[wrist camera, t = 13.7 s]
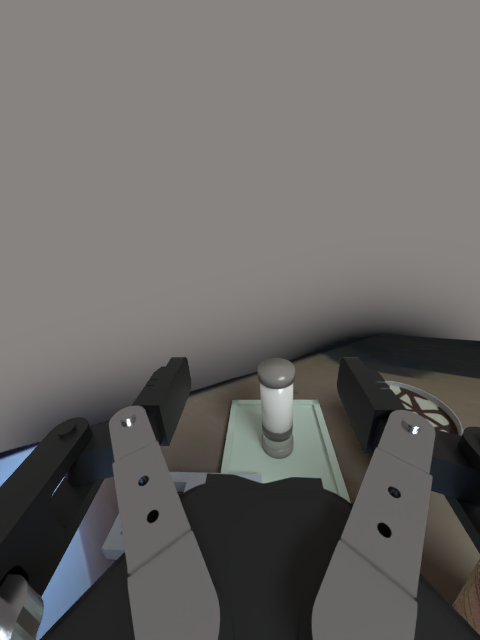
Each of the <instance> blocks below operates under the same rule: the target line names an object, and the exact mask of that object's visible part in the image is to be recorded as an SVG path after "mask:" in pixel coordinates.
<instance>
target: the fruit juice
mask: <svg viewBox="0 0 480 640" xmlns="http://www.w3.org/2000/svg"><path fill="white" fill-rule="evenodd" d="M452 607H453V608H454V609H455V610H456V611H457V612H458V613H459V614H460V615H461V616H462V617H463V618H464V619H465V620H466V621H467V622H468V623H469V624H470V625H471V626H472V628H473V629H474V630H475V631H476V632H477V633H478V634H479V635H480V559H479V561H478V563H477V564H476V566H475V568H474V569H473V571H472V573H471V574H470V576H469V578H468V580H467V581H466V583H465V585H464V586H463V588H462V590H461V591H460V593H459V595H458V596H457V598H456V600H455V602H454V603H453V605H452Z"/></svg>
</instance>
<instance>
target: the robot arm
mask: <svg viewBox="0 0 480 640" xmlns="http://www.w3.org/2000/svg"><path fill="white" fill-rule="evenodd" d="M190 390H191V378H190V372H189V366H188V361H187V358H186V357H173V358H171V359H170V361H169V363H168V364H167V366H166V367H161V368H159V369H158V370H157V371H155V372H154V373H153V375H152V376H151V378H150V380H149V381H148V382H147V384H146V386H145V387H144V388H143V390H142V391H141V393H140V394H139V396H138V397H137V399H136V400H135V402H134V403H133V405H132V406H129V407H126V408H124V409H122V410H120V411H118V412H117V413H116V414H115V415H114V416H113V417H112V418H111V420H110V421H109V422H105V423H101V424H96V425H92V426H89V424H88V421H87V420H86V419H84V418H73V419H70V420H67V421H65V422H63V423H61V424H59V425H58V426H56V427H55V428H54V429H53V430H52V431H51V432H50V433H49V434H48V435H47V436H46V437H45V438H44V439H43V440H42V441H41V443H40V444H39V445H38V446H37V447H36V448H35V449H34V450H33V451H32V453H31V454H30V455H29V456H28V457H27V458H26V459H25V460H24V461H23V463H22V464H21V465H20V466H19V467H18V468H17V469H16V470H15V471H14V472H13V474H12V475H11V476H10V477H9V478H8V479H7V480H6V481H5V482H4V484H3V485H2V486H1V487H0V640H36V633H37V630H38V628H39V625H40V623H41V620H42V616H43V608H44V605H43V600H42V598H41V596H42V595H43V593H44V591H45V589H46V587H47V585H48V583H49V581H50V580H51V578H52V576H53V574H54V572H55V570H56V568H57V566H58V565H59V563H60V561H61V559H62V557H63V555H64V553H65V551H66V550H67V548H68V546H69V544H70V542H71V540H72V538H73V536H74V535H75V533H76V531H77V529H78V527H79V525H80V523H81V521H82V520H83V518H84V516H85V514H86V512H87V510H88V508H89V506H90V505H91V503H92V501H93V499H94V497H95V495H96V493H97V491H98V490H99V488H100V486H101V484H102V482H103V480H104V479H105V478H108V477H112V476H114V480H115V487H116V494H117V501H118V507H119V514H120V521H121V528H122V534H123V541H124V548H125V552H124V553H123V554H122V555H121V556H120V557H119V558H118V559H117V560H116V561H115V562H114V563H113V564H112V565H111V566H110V567H109V568H108V569H107V570H106V571H105V572H104V573H103V575H102V576H101V577H100V578H99V579H98V580H97V581H96V582H95V583H94V584H93V585H92V586H91V587H90V588H89V589H88V590H87V591H86V592H85V593H84V594H83V595H82V596H81V597H80V598H79V599H78V600H77V601H76V602H75V603H74V604H73V606H72V607H71V608H70V609H69V610H68V611H67V612H66V613H65V614H64V615H63V616H62V617H61V618H60V619H59V620H58V621H57V622H56V623H55V624H54V625H53V626H52V627H51V628H50V629H49V630H48V631H47V632H46V633H45V635H44V636H43V637H42V638H41V639H40V640H480V635H479V634H478V633H477V632H476V631H475V630H474V629H473V628H472V626H471V625H470V624H469V623H468V622H467V621H466V620H465V619H464V618H463V617H462V616H461V615H460V614H459V613H458V612H457V611H456V610H455V609H454V608H453V607H452V606H451V605H450V604H449V603H448V602H447V601H446V600H445V599H444V598H443V597H442V595H441V594H440V593H439V592H438V591H437V590H436V589H435V588H434V587H433V586H432V585H431V584H430V583H429V582H428V581H427V580H426V579H425V578H424V577H423V576H422V575H421V574H420V567H421V559H422V552H423V545H424V537H425V530H426V522H427V515H428V508H429V500H430V493H431V491H434V492H437V493H440V494H443V495H444V496H445V497H446V499H447V501H448V502H449V504H450V506H451V507H452V509H453V510H454V512H455V514H456V515H457V517H458V519H459V520H460V522H461V524H462V525H463V527H464V529H465V530H466V532H467V534H468V535H469V537H470V538H471V540H472V542H473V543H474V545H475V547H476V548H477V550H478V552H479V553H480V427H468V428H466V429H465V430H464V431H463V434H462V436H460V435H456V434H452V433H448V432H444V431H440V430H437V429H434V427H433V426H432V424H431V423H430V422H429V421H427V420H426V419H425V418H423V417H422V416H420V415H418V414H416V413H413V412H411V411H408V410H407V409H406V408H405V406H404V405H403V404H402V402H401V401H400V400H399V398H398V397H397V396H396V395H395V393H394V392H393V391H392V389H390V387H389V385H388V384H387V383H385V380H384V379H383V378H382V376H381V375H380V374H379V373H378V372H376V371H375V370H373V369H372V368H370V367H365V366H364V365H363V363H362V362H361V360H360V359H359V358H358V357H342V358H341V360H340V366H339V373H338V380H337V390H338V394H339V396H340V398H341V401H342V403H343V405H344V407H345V410H346V412H347V414H348V416H349V418H350V421H351V423H352V425H353V427H354V430H355V432H356V434H357V436H358V438H359V441H360V443H361V445H362V447H363V450H364V452H365V453H374V454H373V456H372V459H371V461H370V464H369V466H368V469H367V472H366V474H365V477H364V479H363V482H362V485H361V487H360V490H359V492H358V495H357V497H356V500H355V503H354V505H352V504H351V503H350V502H348V501H347V500H346V499H344V498H343V497H341V496H339V495H338V494H336V493H334V492H331V491H329V490H326V489H324V488H323V484H322V479H321V478H306V477H290V478H286V479H281V480H277V481H273V482H268V483H259V482H256V481H253V480H250V479H247V478H244V477H240V476H237V475H234V474H210V473H207V476H206V481H205V483H204V484H201V485H198V486H195V487H193V488H191V489H189V490H187V491H186V492H184V493H183V494H181V495H180V496H178V493H177V490H176V488H175V485H174V482H173V480H172V477H171V474H170V472H169V469H168V467H167V464H166V461H165V459H164V456H163V453H162V451H161V448H160V446H169V444H170V442H171V439H172V437H173V434H174V432H175V429H176V427H177V424H178V422H179V419H180V416H181V414H182V411H183V409H184V406H185V404H186V401H187V399H188V396H189V394H190ZM64 476H65V478H64V479H63V477H64ZM62 479H63V481H62V482H61V480H62ZM60 482H61V484H60V485H59V483H60ZM58 485H59V487H58V488H57V486H58ZM56 488H57V490H56V491H55V492H54V490H55V489H56ZM53 492H54V494H53ZM52 494H53V495H52ZM51 496H52V497H51Z"/></svg>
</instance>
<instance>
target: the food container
mask: <svg viewBox="0 0 480 640" xmlns="http://www.w3.org/2000/svg"><path fill="white" fill-rule="evenodd" d="M385 383H387V384H388V385H389V387H390V389H392V391H393V392H394V393H395V395H396V396H397V397H398V398H399V400H400V401H401V402H402V404H403V405H404V406H405V408H406V409H407V410H408V411H411V412H413V413H416V414H418V415H420V416H422V417H423V418H425V419H426V420H427V421H429V422H430V423H431V424H432V426H433V427H434V429H437V430H440V431H444V432H448V433H452V434H456V435H460V436H462V434H463V429H462V425H461V423H460V421H459V419H458V417H457V416H456V415H455V413H454V412H453V411H452V410H451V409H450V408H449V407H448V406H447V405H445V404H444V403H443V402H442V401H440V400H439V399H437V398H436V397H434V396H432V395H431V394H429V393H427V392H425V391H423V390H420V389H418V388H415V387H413V386H410V385H406V384H403V383H398V382H393V381H385Z"/></svg>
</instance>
